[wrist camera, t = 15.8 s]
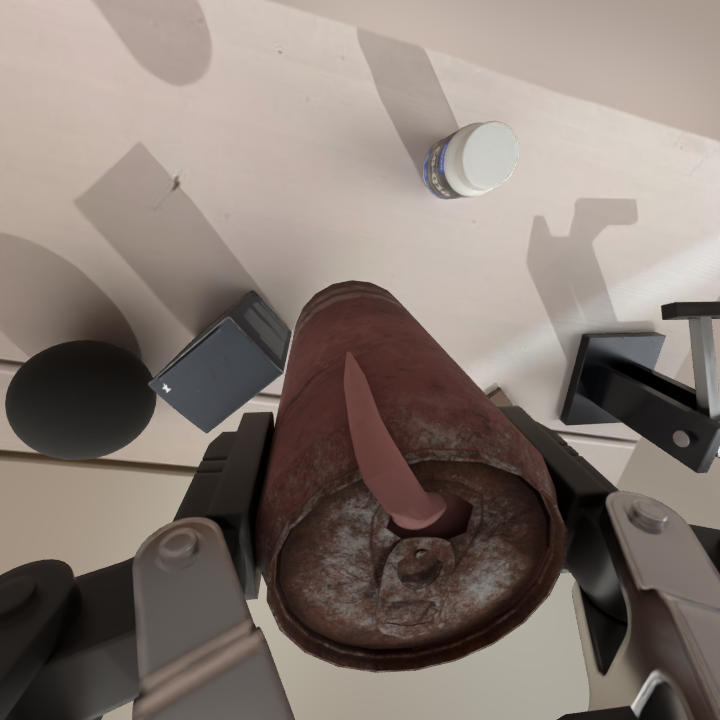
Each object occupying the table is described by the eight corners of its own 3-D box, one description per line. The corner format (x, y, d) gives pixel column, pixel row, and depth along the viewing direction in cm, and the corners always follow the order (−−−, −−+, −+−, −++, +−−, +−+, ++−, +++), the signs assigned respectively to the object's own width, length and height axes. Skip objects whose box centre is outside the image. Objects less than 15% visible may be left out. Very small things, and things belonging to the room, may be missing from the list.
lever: (654, 306, 32) (681, 300, 29) (713, 305, 33) (744, 299, 30) (668, 453, 31) (697, 458, 29) (728, 448, 32) (761, 454, 29)
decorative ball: (159, 430, 37) (108, 500, 28) (54, 400, 35) (-40, 466, 26) (184, 348, 34) (136, 397, 25) (70, 309, 32) (-29, 347, 23)
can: (375, 251, 17) (533, 354, 5) (424, 355, 20) (617, 610, 7) (270, 309, 18) (148, 547, 5) (330, 403, 20) (351, 723, 8)
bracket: (582, 334, 39) (712, 391, 26) (656, 332, 40) (815, 387, 27) (560, 420, 43) (662, 506, 30) (627, 416, 44) (753, 498, 31)
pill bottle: (414, 152, 30) (448, 130, 22) (466, 130, 30) (517, 100, 22) (430, 208, 32) (466, 206, 24) (479, 187, 32) (530, 178, 24)
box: (235, 377, 36) (204, 439, 26) (192, 337, 34) (141, 387, 24) (294, 330, 35) (285, 376, 25) (254, 286, 33) (226, 316, 23)
